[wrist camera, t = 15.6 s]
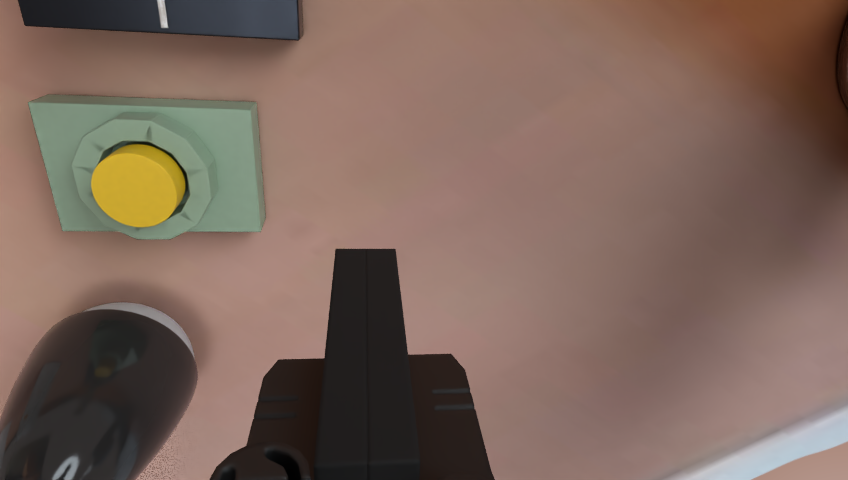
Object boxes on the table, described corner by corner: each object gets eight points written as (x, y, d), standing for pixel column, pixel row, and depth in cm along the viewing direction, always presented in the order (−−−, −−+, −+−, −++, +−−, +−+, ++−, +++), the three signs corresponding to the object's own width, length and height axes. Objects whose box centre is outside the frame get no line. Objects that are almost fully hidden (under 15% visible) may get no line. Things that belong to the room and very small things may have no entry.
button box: (256, 101, 33) (245, 117, 29) (265, 218, 36) (256, 244, 33) (47, 93, 31) (8, 109, 28) (78, 217, 35) (47, 244, 31)
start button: (179, 144, 30) (170, 154, 28) (190, 215, 32) (182, 228, 30) (96, 142, 29) (82, 152, 28) (112, 215, 31) (99, 227, 30)
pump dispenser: (28, 322, 38) (-152, 517, 24) (146, 256, 36) (26, 421, 23) (129, 410, 42) (26, 614, 29) (238, 353, 41) (182, 538, 28)
